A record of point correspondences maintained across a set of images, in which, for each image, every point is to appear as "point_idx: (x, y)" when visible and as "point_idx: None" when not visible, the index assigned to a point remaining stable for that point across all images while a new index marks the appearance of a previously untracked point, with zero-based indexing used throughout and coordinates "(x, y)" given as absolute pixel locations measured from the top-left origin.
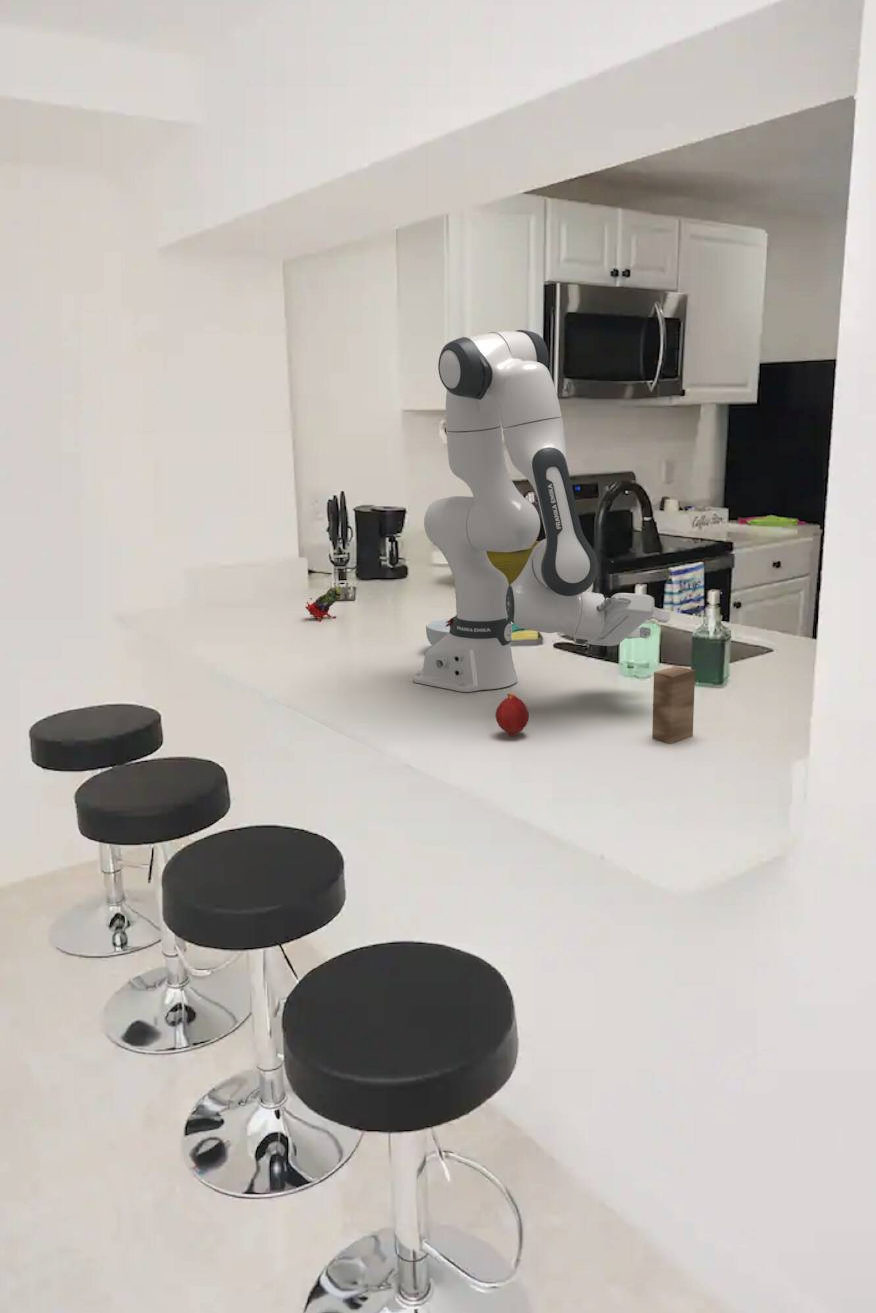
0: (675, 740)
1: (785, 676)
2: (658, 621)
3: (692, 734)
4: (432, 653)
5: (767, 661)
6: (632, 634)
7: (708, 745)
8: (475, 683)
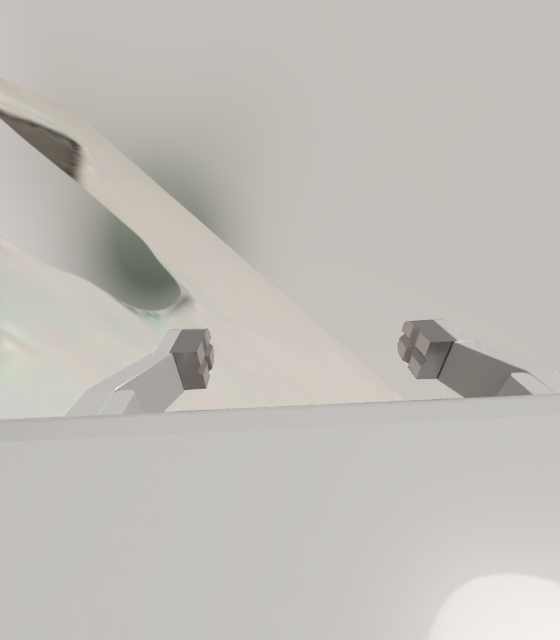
0: None
1: (191, 227)
2: (423, 378)
3: None
4: None
5: (117, 182)
6: (144, 412)
7: None
8: None
